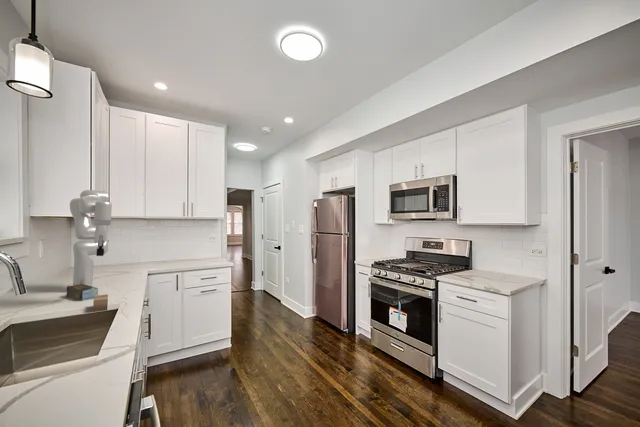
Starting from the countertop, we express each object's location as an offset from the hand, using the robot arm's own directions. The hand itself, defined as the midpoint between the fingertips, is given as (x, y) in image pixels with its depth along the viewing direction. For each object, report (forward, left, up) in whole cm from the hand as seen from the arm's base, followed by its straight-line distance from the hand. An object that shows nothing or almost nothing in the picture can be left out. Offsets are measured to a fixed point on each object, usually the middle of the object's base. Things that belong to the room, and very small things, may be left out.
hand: (100, 255), depth 158 cm
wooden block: (+14, +2, -22) cm, 26 cm away
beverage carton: (-12, -7, -25) cm, 29 cm away
